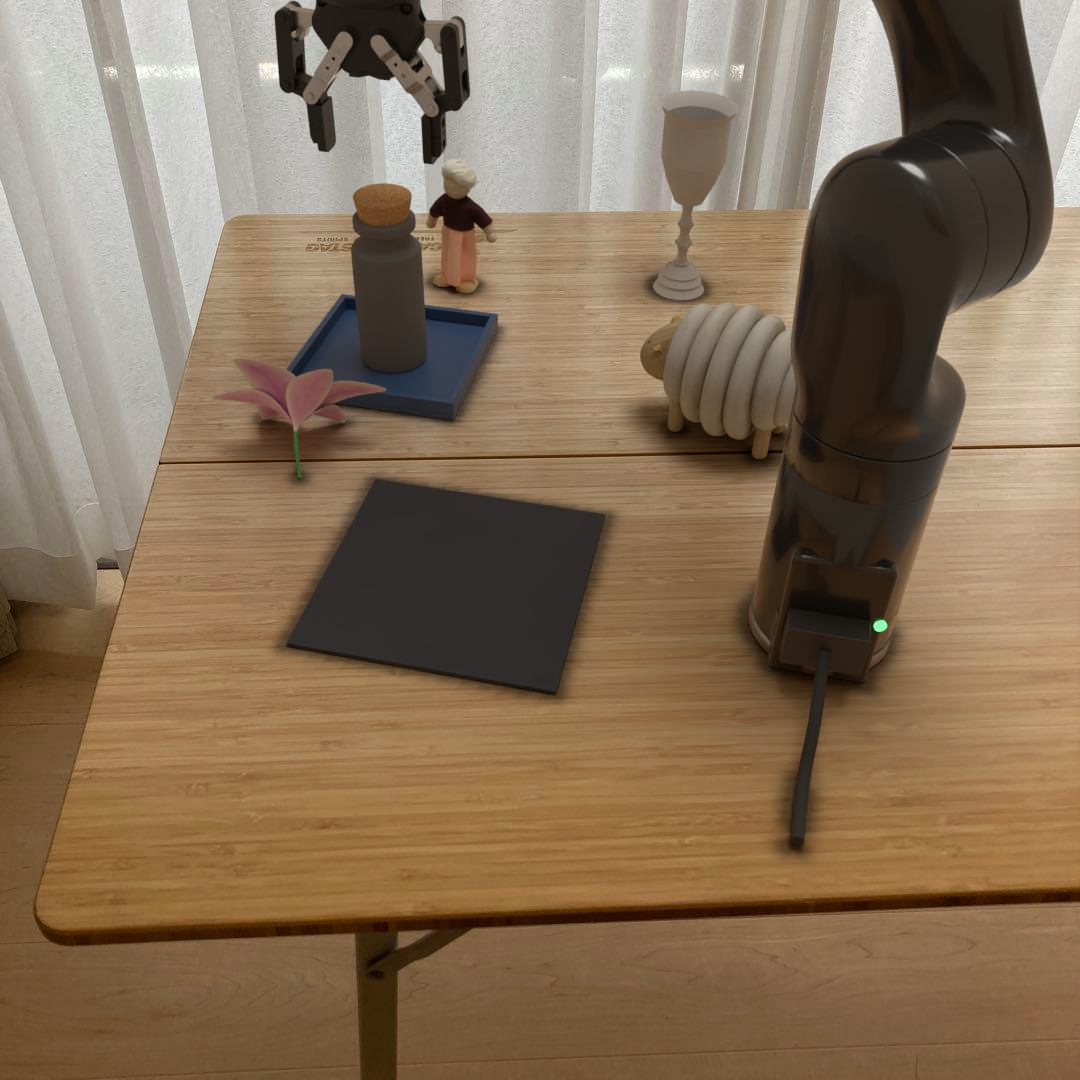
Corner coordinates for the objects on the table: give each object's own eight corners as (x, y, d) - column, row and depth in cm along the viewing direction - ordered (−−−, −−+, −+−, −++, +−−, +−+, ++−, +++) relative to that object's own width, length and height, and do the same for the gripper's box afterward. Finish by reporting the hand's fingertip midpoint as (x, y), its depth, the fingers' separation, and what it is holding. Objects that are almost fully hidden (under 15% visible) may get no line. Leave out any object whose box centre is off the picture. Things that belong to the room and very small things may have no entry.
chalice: (630, 277, 112) (645, 96, 100) (689, 265, 114) (710, 86, 102) (667, 311, 107) (687, 124, 95) (727, 297, 109) (754, 113, 97)
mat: (555, 694, 70) (556, 691, 70) (286, 646, 73) (285, 643, 72) (604, 517, 83) (605, 514, 83) (375, 481, 86) (375, 478, 86)
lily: (410, 459, 90) (394, 339, 88) (323, 486, 80) (303, 351, 78) (291, 464, 95) (274, 351, 93) (195, 490, 85) (173, 364, 83)
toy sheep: (656, 376, 98) (669, 261, 91) (846, 426, 93) (875, 307, 86) (611, 439, 91) (620, 319, 83) (814, 497, 86) (843, 374, 78)
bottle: (432, 341, 101) (424, 181, 91) (420, 376, 96) (411, 212, 87) (369, 337, 101) (354, 177, 91) (354, 371, 97) (337, 207, 87)
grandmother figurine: (417, 288, 109) (410, 162, 101) (431, 270, 112) (426, 146, 104) (491, 300, 108) (490, 174, 99) (504, 282, 111) (504, 158, 102)
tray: (453, 420, 92) (453, 403, 91) (281, 395, 95) (279, 378, 93) (498, 329, 104) (497, 313, 102) (343, 309, 106) (341, 293, 105)
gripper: (242, -73, 74) (275, 163, 85) (447, -56, 72) (454, 184, 83) (285, -97, 80) (311, 127, 91) (476, -82, 78) (479, 146, 89)
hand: (379, 154), depth 87 cm, fingers open, 8 cm apart
